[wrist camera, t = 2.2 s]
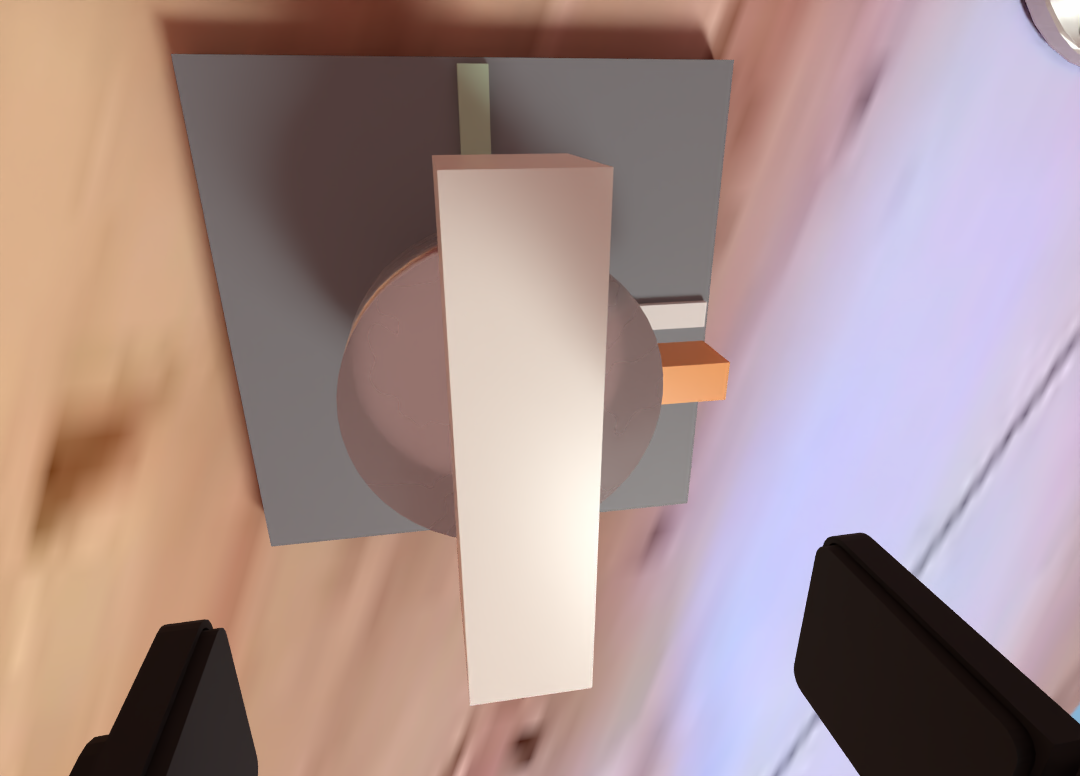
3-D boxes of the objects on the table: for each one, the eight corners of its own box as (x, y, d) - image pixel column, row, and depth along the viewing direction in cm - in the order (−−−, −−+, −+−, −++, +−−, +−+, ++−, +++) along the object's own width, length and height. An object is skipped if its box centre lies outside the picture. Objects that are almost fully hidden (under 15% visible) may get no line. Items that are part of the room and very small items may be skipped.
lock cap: (715, 144, 19) (865, 162, 13) (678, 515, 24) (771, 660, 18) (318, 149, 17) (262, 172, 11) (370, 548, 22) (353, 722, 16)
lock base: (715, 62, 24) (795, 50, 19) (675, 485, 31) (725, 558, 26) (186, 57, 21) (115, 41, 16) (278, 525, 28) (248, 615, 23)
